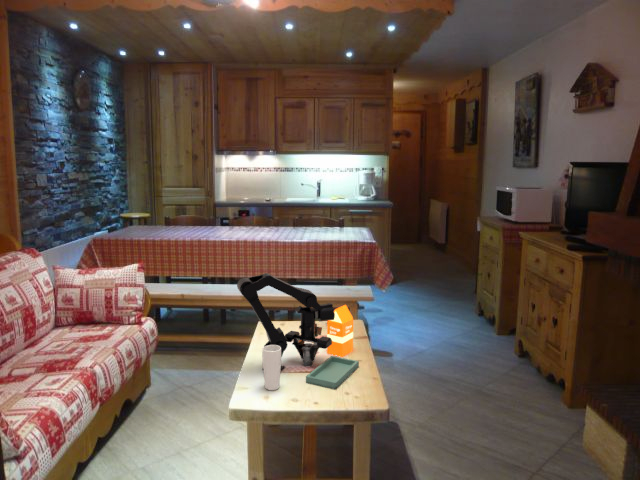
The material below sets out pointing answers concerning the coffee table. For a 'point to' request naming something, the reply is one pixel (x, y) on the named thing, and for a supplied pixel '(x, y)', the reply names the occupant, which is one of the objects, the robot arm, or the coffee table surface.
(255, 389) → the coffee table surface
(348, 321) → the orange juice
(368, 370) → the coffee table surface
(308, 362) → the grey flanged cylinder
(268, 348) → the drinking glass
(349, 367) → the tray
